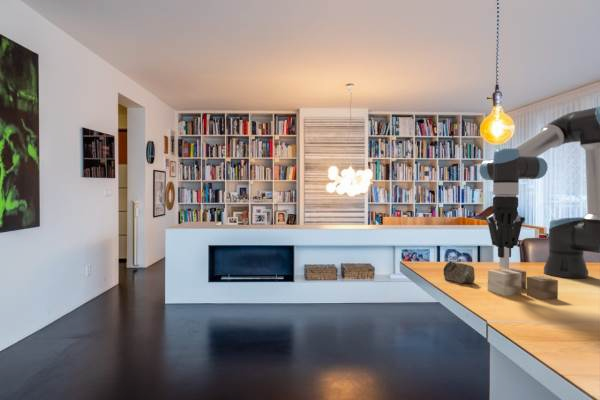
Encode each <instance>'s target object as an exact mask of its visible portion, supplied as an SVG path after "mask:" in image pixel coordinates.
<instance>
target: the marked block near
mask: <svg viewBox="0 0 600 400" xmlns="http://www.w3.org/2000/svg"><path fill="white" fill-rule="evenodd" d="M505 269H506V270H510V271H515V272H519V273H522V280H521V290H525V289H526V290H527V271H526V270H522V269H518V268H514V267H512V268H510V267H509V268H505Z"/></svg>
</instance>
